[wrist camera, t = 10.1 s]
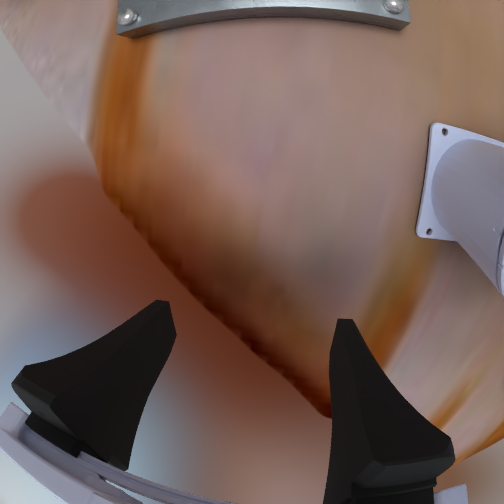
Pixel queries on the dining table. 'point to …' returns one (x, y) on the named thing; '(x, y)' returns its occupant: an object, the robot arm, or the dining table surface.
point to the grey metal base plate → (252, 12)
